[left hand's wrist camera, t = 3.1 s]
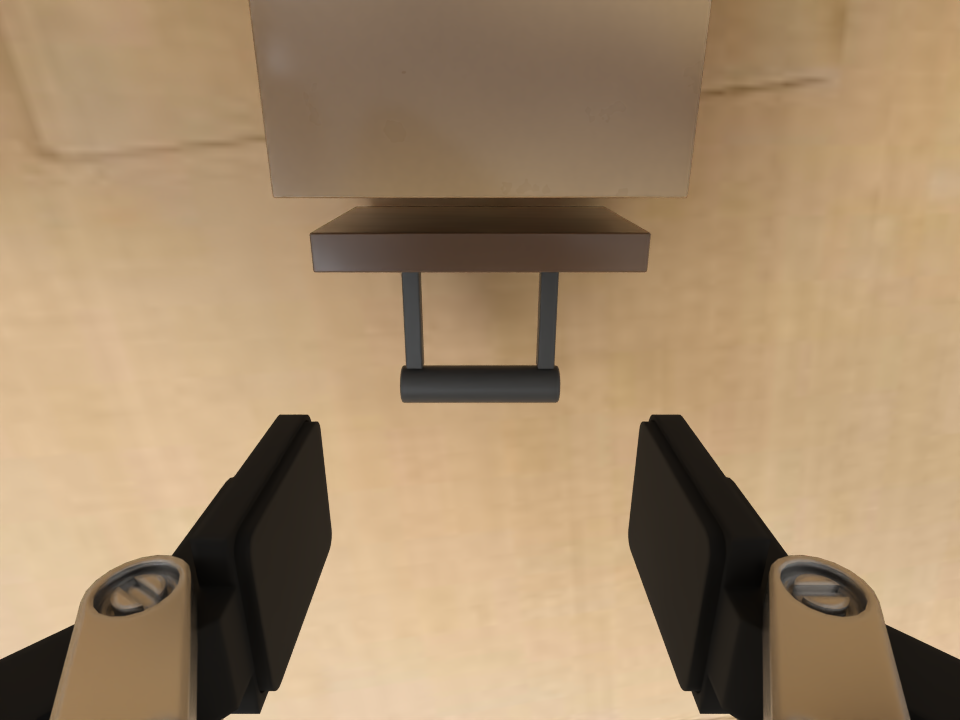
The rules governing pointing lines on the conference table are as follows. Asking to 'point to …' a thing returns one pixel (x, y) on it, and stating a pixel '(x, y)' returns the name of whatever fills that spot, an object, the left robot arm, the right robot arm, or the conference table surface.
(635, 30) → the cabinet
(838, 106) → the conference table surface
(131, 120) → the conference table surface
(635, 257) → the drawer
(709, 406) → the conference table surface
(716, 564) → the left robot arm
